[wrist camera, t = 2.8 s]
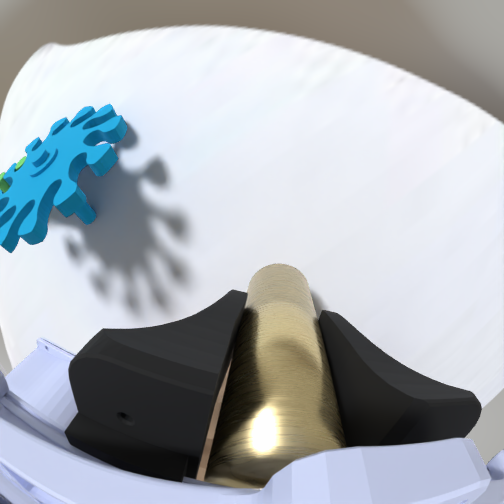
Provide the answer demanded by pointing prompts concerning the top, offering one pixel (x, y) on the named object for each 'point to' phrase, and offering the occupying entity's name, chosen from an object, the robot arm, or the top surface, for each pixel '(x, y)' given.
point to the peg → (274, 386)
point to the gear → (57, 174)
